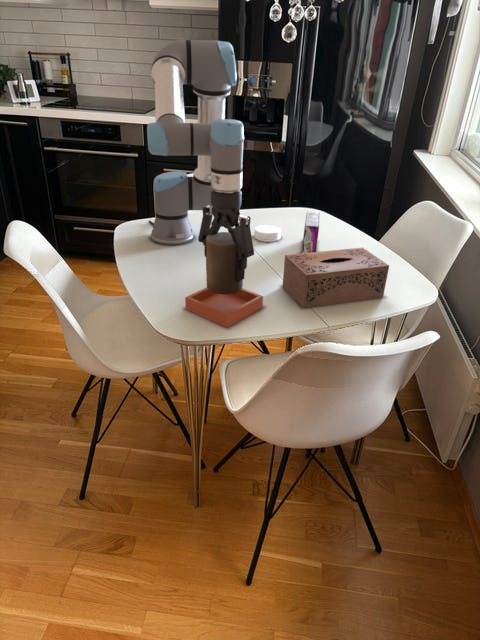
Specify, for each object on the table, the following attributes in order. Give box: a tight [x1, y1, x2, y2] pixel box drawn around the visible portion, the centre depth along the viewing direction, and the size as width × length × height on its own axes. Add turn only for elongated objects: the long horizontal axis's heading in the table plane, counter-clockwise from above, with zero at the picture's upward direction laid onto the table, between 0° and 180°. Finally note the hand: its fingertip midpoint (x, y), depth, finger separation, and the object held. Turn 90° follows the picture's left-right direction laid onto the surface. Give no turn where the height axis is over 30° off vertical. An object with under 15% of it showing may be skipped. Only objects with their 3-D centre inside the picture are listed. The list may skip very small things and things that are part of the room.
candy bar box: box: [301, 211, 321, 254], centre depth 171 cm, size 11×5×16 cm
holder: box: [184, 286, 264, 328], centre depth 132 cm, size 15×15×4 cm
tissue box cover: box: [282, 247, 390, 309], centre depth 141 cm, size 26×14×10 cm, turn 108°
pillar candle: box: [205, 231, 244, 294], centre depth 126 cm, size 10×10×15 cm
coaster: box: [253, 224, 282, 243], centre depth 181 cm, size 10×10×4 cm
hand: (224, 274), depth 128 cm, fingers closed on pillar candle, 10 cm apart
